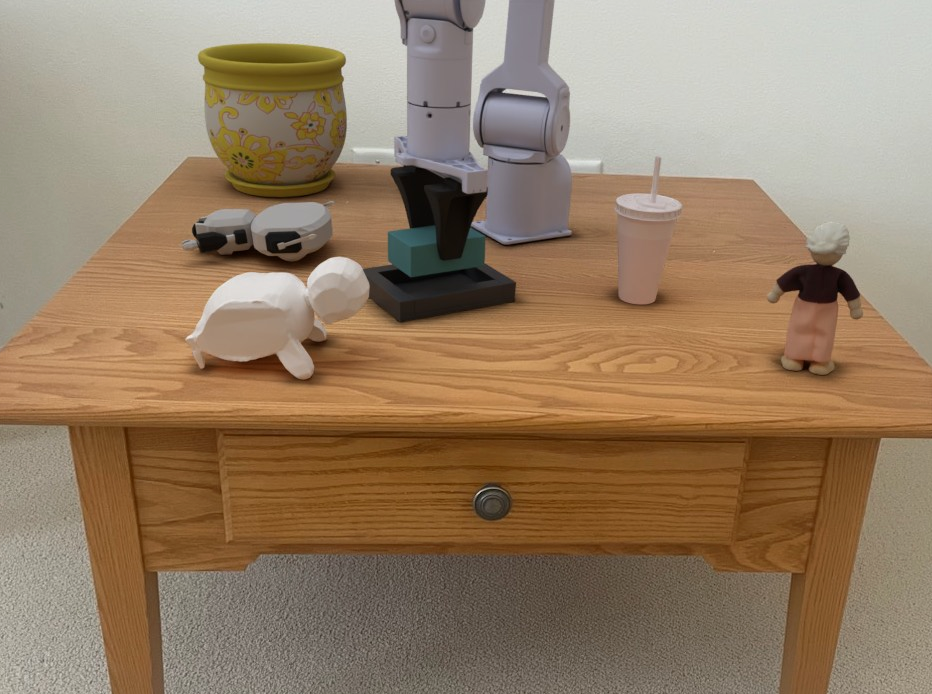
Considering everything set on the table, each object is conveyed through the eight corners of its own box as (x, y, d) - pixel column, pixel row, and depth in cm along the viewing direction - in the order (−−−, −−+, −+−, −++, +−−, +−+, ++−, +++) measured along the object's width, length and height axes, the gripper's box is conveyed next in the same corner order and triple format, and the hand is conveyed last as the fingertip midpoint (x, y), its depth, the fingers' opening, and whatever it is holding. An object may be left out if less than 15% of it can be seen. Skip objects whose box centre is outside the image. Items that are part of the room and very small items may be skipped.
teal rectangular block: (459, 250, 96) (460, 221, 95) (484, 266, 92) (486, 235, 91) (387, 261, 92) (387, 231, 91) (410, 277, 89) (410, 246, 87)
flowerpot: (339, 207, 119) (334, 67, 111) (194, 200, 119) (179, 60, 111) (357, 170, 135) (354, 46, 126) (230, 165, 134) (218, 40, 126)
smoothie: (629, 313, 92) (647, 166, 85) (592, 291, 97) (606, 150, 90) (682, 304, 95) (703, 161, 88) (644, 282, 99) (661, 145, 93)
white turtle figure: (213, 409, 78) (383, 354, 75) (163, 318, 74) (340, 257, 71) (238, 365, 85) (394, 313, 83) (194, 279, 81) (355, 223, 79)
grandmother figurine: (842, 360, 84) (877, 219, 78) (849, 379, 81) (886, 233, 75) (753, 351, 85) (780, 211, 79) (756, 369, 82) (785, 225, 76)
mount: (467, 271, 100) (468, 252, 100) (515, 301, 93) (516, 282, 92) (358, 288, 95) (357, 269, 94) (399, 322, 88) (399, 302, 87)
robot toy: (180, 275, 98) (325, 271, 98) (172, 232, 96) (320, 228, 96) (211, 238, 109) (342, 234, 108) (204, 199, 107) (338, 195, 106)
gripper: (364, 90, 89) (367, 233, 95) (437, 121, 78) (434, 279, 85) (431, 86, 92) (430, 224, 99) (510, 115, 81) (502, 268, 88)
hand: (436, 249), depth 92 cm, fingers closed on teal rectangular block, 5 cm apart
